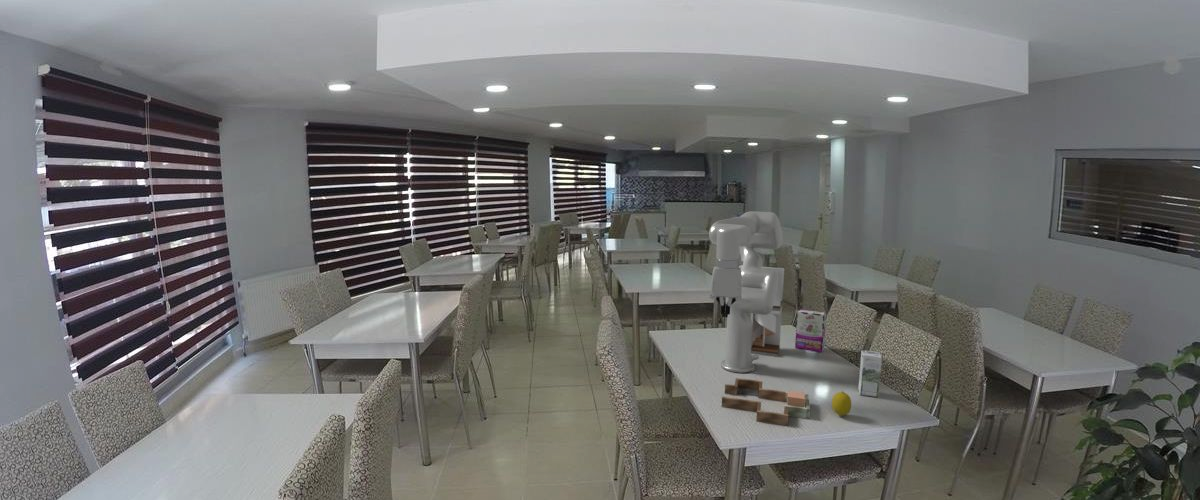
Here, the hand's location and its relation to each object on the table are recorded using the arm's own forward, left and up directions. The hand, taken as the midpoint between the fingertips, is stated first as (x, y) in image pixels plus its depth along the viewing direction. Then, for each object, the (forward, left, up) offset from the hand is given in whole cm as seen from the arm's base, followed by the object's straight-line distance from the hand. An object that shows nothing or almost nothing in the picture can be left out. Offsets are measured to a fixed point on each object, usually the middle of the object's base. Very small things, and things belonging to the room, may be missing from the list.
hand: (725, 316), depth 189 cm
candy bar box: (-62, -11, -26) cm, 68 cm away
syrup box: (-39, +30, -26) cm, 56 cm away
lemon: (-15, +36, -26) cm, 47 cm away
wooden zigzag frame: (-1, +18, -26) cm, 31 cm away
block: (-7, +25, -26) cm, 37 cm away
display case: (-43, -19, -26) cm, 54 cm away
